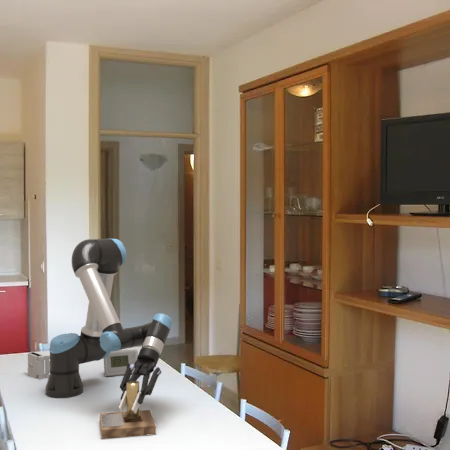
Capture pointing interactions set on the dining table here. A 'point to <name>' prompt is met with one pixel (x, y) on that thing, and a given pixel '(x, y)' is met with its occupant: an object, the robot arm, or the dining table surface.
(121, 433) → the brown block with recess
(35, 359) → the grey slotted box
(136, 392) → the pin
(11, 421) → the dining table surface
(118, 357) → the digital clock
